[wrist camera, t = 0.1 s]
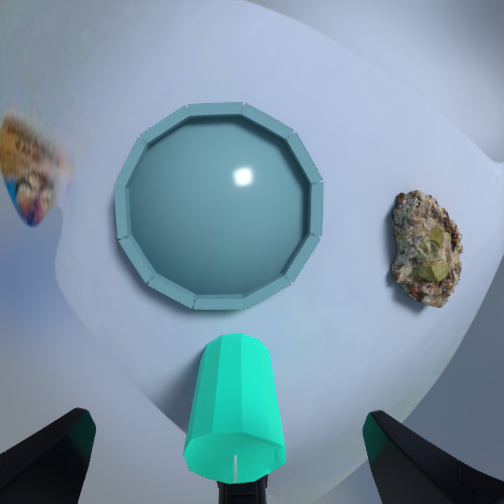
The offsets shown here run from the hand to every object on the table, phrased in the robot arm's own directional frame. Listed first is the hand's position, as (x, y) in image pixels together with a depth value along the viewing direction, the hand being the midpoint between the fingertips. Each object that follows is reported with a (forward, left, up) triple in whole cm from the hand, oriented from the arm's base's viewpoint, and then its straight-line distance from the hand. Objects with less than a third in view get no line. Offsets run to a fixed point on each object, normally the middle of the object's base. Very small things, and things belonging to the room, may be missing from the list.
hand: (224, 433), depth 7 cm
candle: (-8, 0, -15) cm, 17 cm away
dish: (+5, +1, -14) cm, 15 cm away
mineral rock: (+2, -16, -15) cm, 22 cm away
